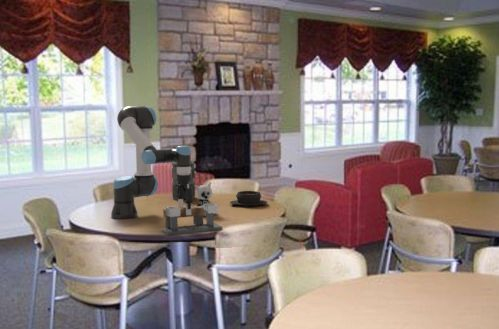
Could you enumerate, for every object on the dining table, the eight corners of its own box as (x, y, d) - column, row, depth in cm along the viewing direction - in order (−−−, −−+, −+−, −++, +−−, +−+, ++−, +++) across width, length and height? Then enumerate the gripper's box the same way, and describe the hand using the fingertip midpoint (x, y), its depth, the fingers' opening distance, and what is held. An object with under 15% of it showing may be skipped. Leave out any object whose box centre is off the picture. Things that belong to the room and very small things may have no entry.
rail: (165, 218, 288) (165, 210, 287) (163, 217, 291) (163, 209, 291) (205, 215, 297) (204, 207, 297) (202, 213, 301) (202, 206, 300)
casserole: (265, 202, 364) (265, 190, 363) (269, 207, 346) (269, 194, 345) (228, 202, 362) (228, 190, 361) (230, 208, 343) (230, 195, 343)
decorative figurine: (193, 217, 315) (193, 183, 313) (190, 212, 329) (190, 180, 327) (218, 216, 319) (218, 183, 316) (214, 211, 333) (214, 179, 330)
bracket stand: (167, 235, 272) (167, 210, 271) (161, 231, 281) (161, 206, 280) (222, 229, 285) (222, 205, 283) (215, 225, 294) (215, 202, 292)
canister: (168, 199, 373) (168, 159, 370) (178, 195, 388) (177, 157, 385) (189, 200, 369) (189, 160, 366) (198, 197, 384) (198, 158, 381)
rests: (168, 228, 288) (168, 218, 288) (165, 226, 293) (165, 217, 292) (203, 224, 297) (203, 215, 296) (200, 222, 301) (200, 213, 301)
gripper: (198, 176, 282) (198, 216, 284) (183, 171, 304) (184, 208, 307) (184, 177, 279) (185, 217, 281) (170, 172, 301) (171, 209, 303)
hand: (184, 212), depth 294 cm, fingers open, 13 cm apart
